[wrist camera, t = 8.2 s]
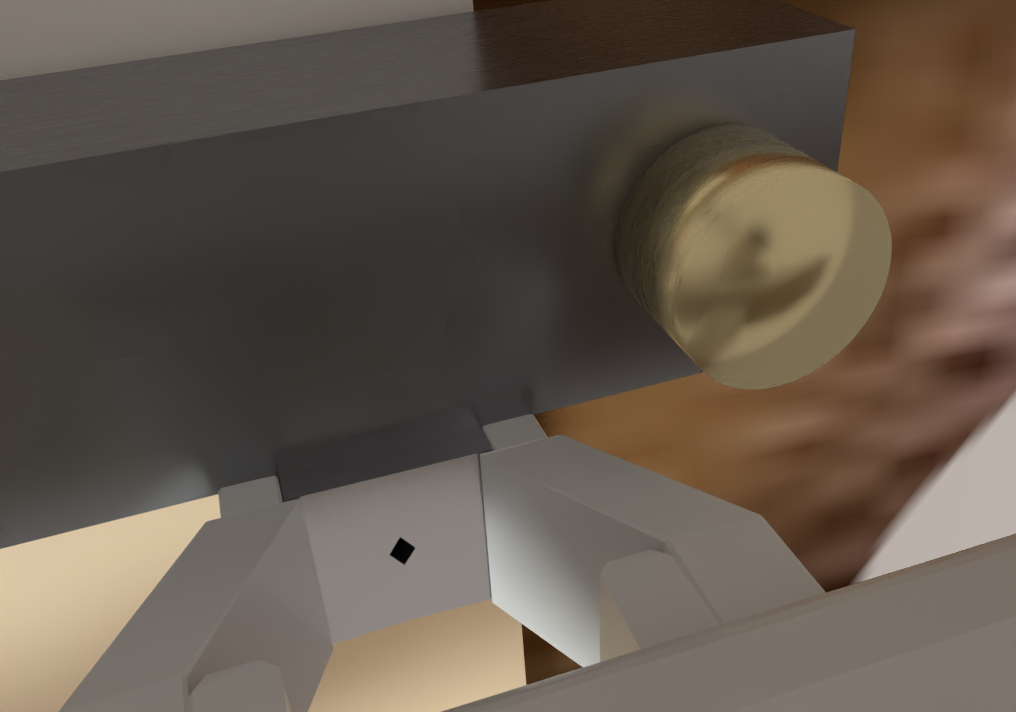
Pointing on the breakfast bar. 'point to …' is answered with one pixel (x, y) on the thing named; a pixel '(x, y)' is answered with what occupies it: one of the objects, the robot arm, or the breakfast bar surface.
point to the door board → (167, 531)
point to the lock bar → (411, 239)
